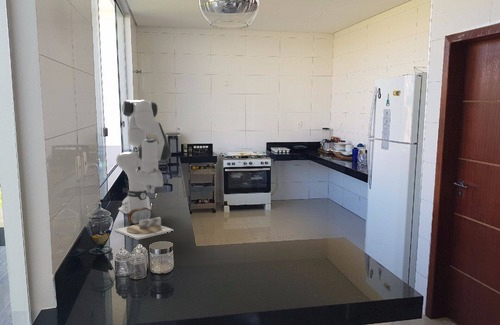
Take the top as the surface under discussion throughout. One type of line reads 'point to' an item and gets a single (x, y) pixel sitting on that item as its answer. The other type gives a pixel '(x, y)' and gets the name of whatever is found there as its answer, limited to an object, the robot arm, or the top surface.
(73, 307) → the top surface
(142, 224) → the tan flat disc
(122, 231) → the white flat square board
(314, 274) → the top surface
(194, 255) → the top surface
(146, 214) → the bread slice
